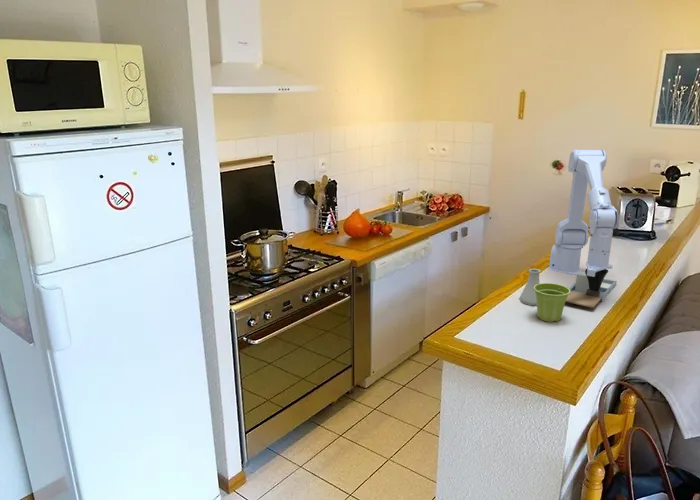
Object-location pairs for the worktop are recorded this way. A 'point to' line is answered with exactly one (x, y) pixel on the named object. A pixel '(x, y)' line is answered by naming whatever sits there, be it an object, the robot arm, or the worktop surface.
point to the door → (584, 298)
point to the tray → (602, 288)
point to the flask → (530, 288)
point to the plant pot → (550, 300)
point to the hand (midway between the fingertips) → (593, 292)
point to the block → (581, 282)
